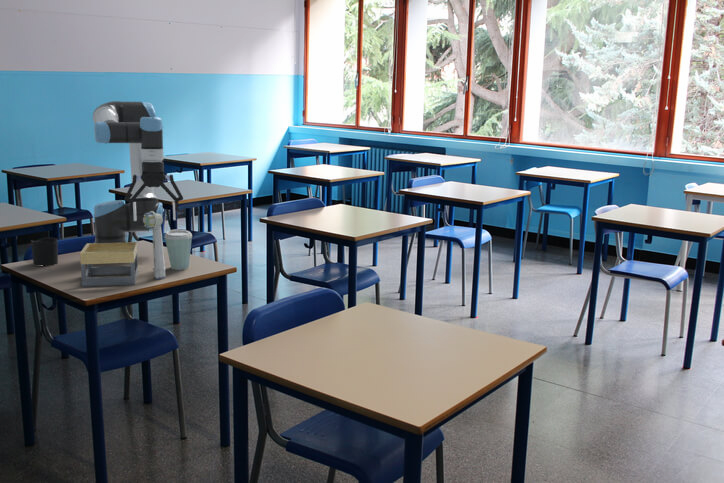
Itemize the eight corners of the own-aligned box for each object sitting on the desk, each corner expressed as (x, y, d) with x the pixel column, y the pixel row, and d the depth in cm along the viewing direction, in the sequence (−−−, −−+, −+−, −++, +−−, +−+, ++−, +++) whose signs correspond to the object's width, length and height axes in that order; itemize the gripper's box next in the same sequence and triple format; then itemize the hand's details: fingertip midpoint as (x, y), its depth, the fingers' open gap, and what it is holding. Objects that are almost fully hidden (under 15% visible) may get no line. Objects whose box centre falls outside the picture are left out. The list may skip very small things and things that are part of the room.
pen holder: (59, 266, 262) (57, 241, 260) (32, 268, 258) (31, 242, 256) (58, 261, 271) (56, 237, 269) (32, 263, 266) (30, 238, 264)
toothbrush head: (168, 278, 247) (166, 211, 242) (152, 281, 242) (150, 212, 237) (161, 275, 250) (158, 209, 246) (145, 278, 245) (142, 211, 241)
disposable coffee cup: (199, 268, 263) (198, 231, 260) (178, 273, 254) (176, 234, 251) (180, 264, 269) (179, 228, 266) (159, 269, 260) (158, 231, 257)
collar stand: (88, 275, 249) (86, 243, 247) (137, 273, 253) (136, 242, 251) (82, 286, 232) (80, 253, 230) (135, 284, 237) (133, 251, 235)
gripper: (114, 161, 231) (117, 222, 235) (188, 161, 238) (190, 220, 241) (116, 160, 238) (119, 219, 242) (188, 160, 245) (190, 217, 249)
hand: (154, 220), depth 242 cm, fingers open, 13 cm apart
